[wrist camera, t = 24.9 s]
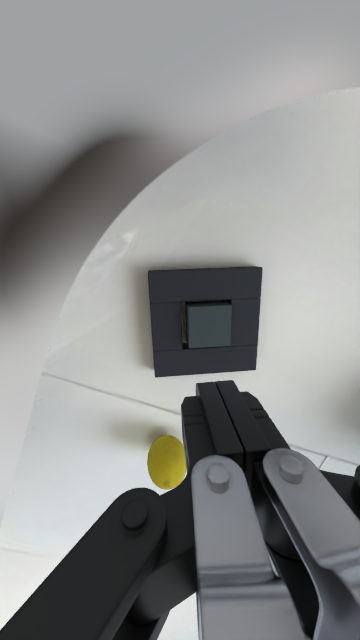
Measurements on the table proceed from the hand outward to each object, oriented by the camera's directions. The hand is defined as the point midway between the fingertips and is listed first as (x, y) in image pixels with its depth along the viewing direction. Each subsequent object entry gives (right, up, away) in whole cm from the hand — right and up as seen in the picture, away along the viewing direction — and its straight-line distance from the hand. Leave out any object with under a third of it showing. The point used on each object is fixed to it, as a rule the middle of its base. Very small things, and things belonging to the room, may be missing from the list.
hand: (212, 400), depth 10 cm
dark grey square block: (+2, +3, +23) cm, 23 cm away
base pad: (+2, +3, +23) cm, 23 cm away
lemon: (-4, -15, +28) cm, 32 cm away
